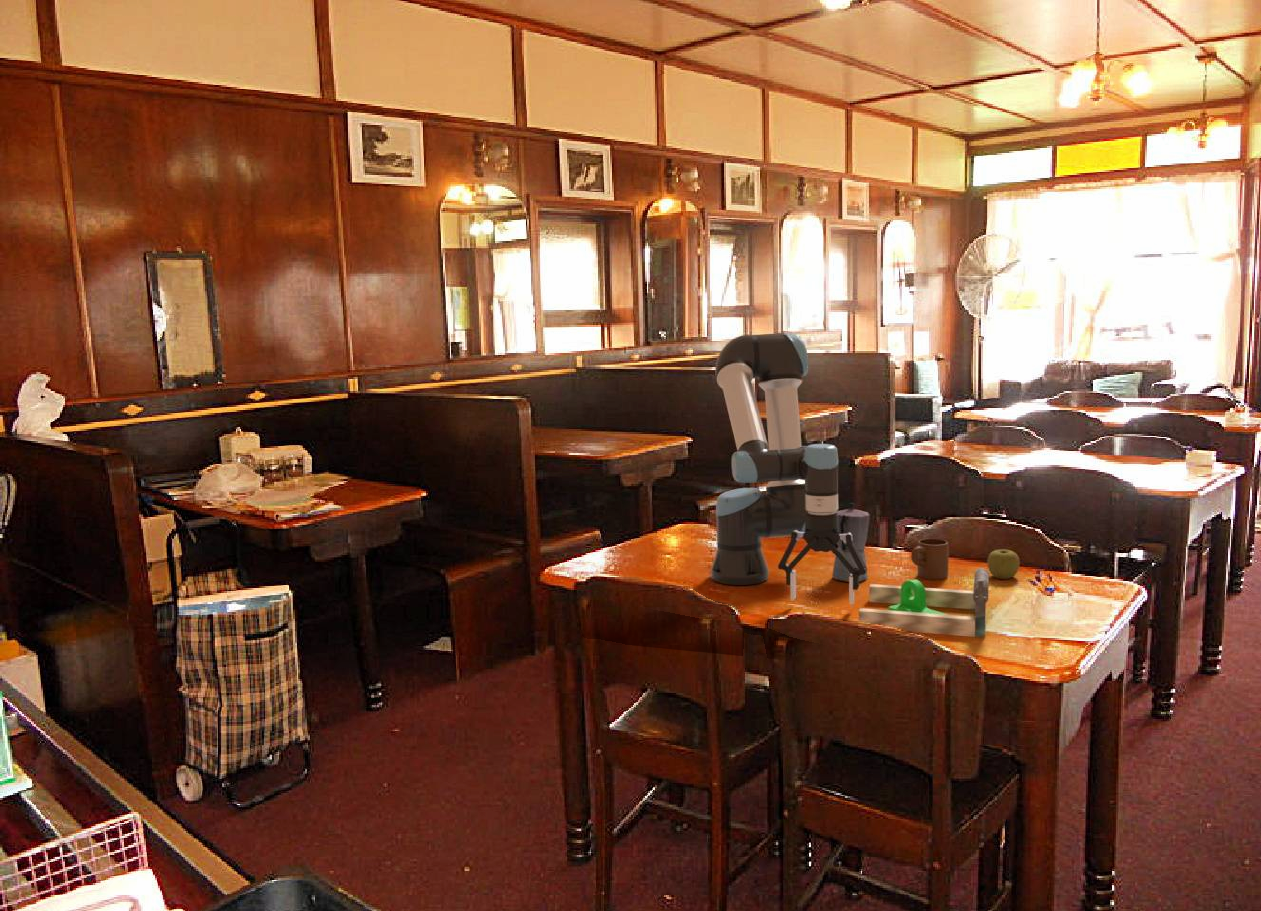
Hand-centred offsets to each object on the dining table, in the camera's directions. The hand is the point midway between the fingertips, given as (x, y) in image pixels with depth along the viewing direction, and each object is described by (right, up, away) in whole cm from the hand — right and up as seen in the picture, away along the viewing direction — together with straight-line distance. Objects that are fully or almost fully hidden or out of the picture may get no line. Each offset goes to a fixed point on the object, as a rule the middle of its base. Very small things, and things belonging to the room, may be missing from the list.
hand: (822, 600), depth 218 cm
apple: (+50, +2, +20) cm, 55 cm away
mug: (+32, +2, +23) cm, 39 cm away
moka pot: (+12, +2, +25) cm, 28 cm away
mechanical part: (+20, -3, -7) cm, 22 cm away
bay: (+21, -3, -8) cm, 23 cm away
